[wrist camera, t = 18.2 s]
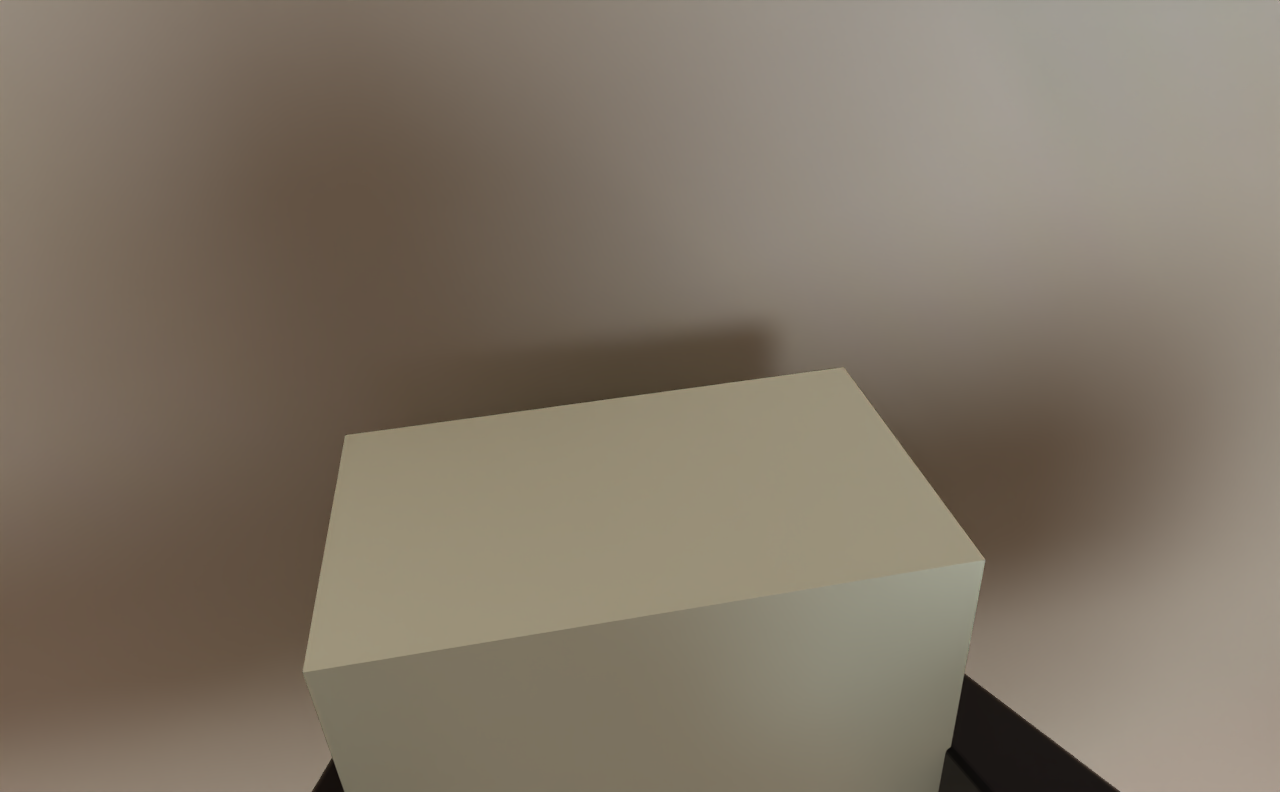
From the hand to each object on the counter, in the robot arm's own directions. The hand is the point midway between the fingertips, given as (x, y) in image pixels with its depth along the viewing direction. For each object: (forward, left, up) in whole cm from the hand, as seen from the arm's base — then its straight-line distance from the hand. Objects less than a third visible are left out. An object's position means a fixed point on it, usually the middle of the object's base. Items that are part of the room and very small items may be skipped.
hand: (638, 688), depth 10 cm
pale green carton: (0, 0, -1) cm, 1 cm away
